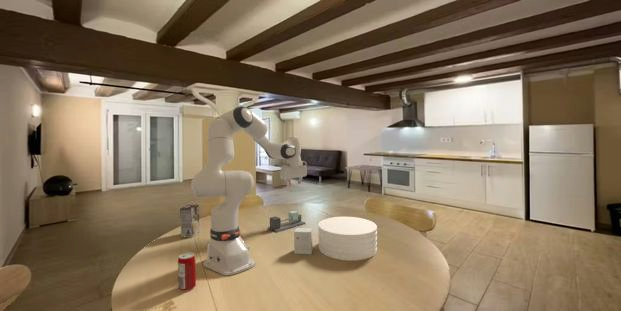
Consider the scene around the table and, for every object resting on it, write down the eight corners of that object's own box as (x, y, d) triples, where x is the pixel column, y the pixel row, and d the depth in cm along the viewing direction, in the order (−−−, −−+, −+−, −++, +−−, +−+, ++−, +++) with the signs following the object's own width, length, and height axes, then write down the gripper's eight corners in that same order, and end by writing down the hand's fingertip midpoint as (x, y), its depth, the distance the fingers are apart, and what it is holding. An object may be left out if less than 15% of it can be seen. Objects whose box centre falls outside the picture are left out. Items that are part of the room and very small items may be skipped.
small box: (312, 249, 125) (312, 228, 125) (311, 254, 120) (311, 232, 119) (296, 249, 126) (295, 227, 126) (294, 254, 121) (293, 231, 120)
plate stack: (378, 263, 111) (378, 236, 111) (313, 257, 117) (313, 232, 116) (375, 239, 139) (375, 218, 138) (323, 235, 144) (323, 215, 144)
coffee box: (188, 232, 151) (188, 204, 150) (199, 232, 151) (199, 204, 150) (180, 237, 142) (179, 208, 141) (192, 237, 142) (191, 208, 141)
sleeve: (298, 220, 164) (298, 212, 163) (293, 222, 161) (293, 213, 161) (293, 219, 167) (293, 210, 167) (288, 220, 164) (288, 211, 164)
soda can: (198, 283, 96) (197, 251, 95) (192, 291, 90) (191, 257, 90) (182, 283, 96) (182, 251, 95) (175, 292, 90) (174, 258, 89)
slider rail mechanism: (305, 223, 165) (305, 212, 165) (276, 232, 150) (276, 220, 149) (296, 220, 171) (295, 210, 171) (267, 228, 156) (267, 217, 156)
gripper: (284, 165, 156) (284, 187, 157) (308, 162, 171) (308, 183, 172) (277, 164, 161) (277, 186, 162) (301, 161, 175) (301, 182, 176)
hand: (293, 184), depth 167 cm, fingers open, 8 cm apart
